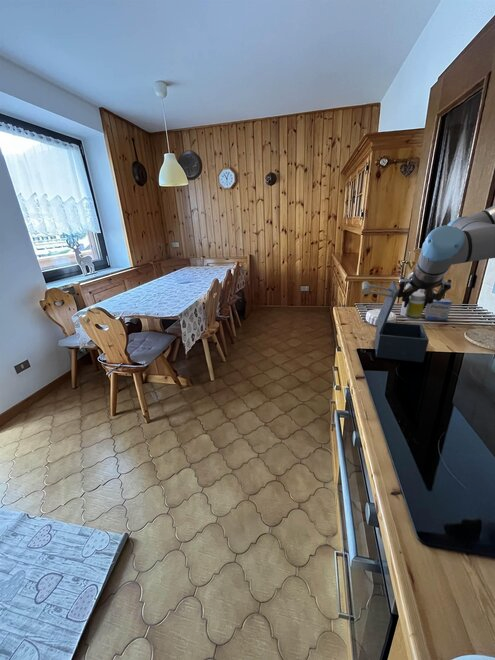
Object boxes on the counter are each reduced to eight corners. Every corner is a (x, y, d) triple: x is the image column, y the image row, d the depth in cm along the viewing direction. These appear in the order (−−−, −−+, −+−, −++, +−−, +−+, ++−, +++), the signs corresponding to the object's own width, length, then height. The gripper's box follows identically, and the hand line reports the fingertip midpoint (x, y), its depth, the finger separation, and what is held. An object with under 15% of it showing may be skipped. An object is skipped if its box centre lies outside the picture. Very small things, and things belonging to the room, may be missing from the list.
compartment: (416, 345, 105) (422, 324, 101) (422, 362, 95) (428, 340, 91) (374, 341, 110) (377, 320, 106) (376, 357, 100) (379, 335, 96)
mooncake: (376, 328, 119) (377, 321, 117) (360, 317, 129) (361, 310, 127) (401, 324, 120) (403, 316, 119) (383, 313, 131) (385, 306, 129)
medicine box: (426, 319, 123) (430, 301, 119) (423, 315, 127) (428, 297, 123) (447, 321, 121) (452, 302, 117) (443, 316, 124) (449, 298, 120)
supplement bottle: (423, 320, 94) (429, 296, 90) (409, 320, 94) (414, 297, 91) (416, 314, 99) (421, 291, 95) (402, 314, 99) (407, 292, 95)
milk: (419, 314, 128) (431, 266, 118) (414, 318, 125) (426, 269, 114) (405, 310, 132) (415, 264, 122) (399, 315, 129) (410, 267, 118)
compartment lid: (394, 281, 97) (364, 274, 100) (398, 292, 88) (365, 285, 90) (379, 320, 105) (351, 313, 108) (381, 334, 96) (350, 327, 98)
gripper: (470, 260, 75) (445, 297, 95) (395, 257, 82) (387, 292, 102) (468, 286, 73) (443, 317, 94) (392, 280, 80) (384, 311, 101)
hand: (414, 304), depth 98 cm, fingers closed on supplement bottle, 5 cm apart
